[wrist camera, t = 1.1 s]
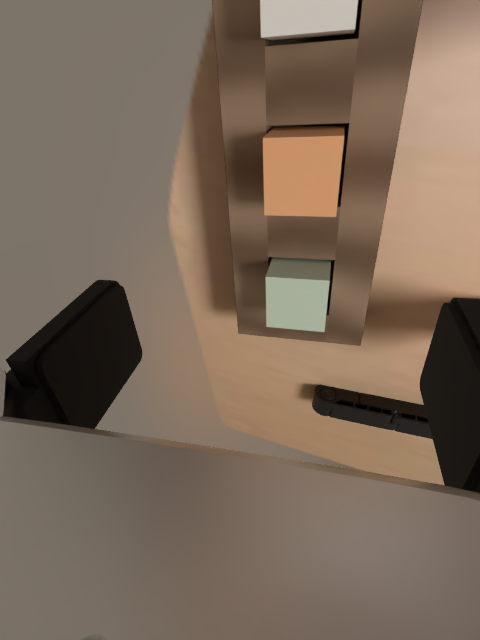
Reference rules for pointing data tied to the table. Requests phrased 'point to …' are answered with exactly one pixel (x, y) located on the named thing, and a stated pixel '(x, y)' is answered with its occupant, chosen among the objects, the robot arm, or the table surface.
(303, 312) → the sage button
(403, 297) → the table surface
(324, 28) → the grey button
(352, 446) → the table surface
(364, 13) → the console
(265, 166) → the tan block
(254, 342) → the table surface
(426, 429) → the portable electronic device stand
